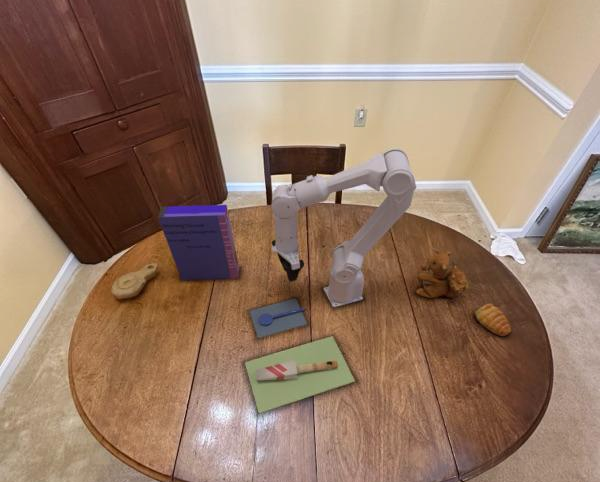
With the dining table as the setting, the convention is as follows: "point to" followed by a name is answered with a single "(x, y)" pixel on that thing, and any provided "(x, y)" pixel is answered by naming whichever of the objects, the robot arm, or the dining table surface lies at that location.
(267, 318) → the spoon
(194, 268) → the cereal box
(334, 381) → the brush mat
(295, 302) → the spoon pad
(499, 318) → the pastry
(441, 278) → the stuffed squirrel
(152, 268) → the oil lamp
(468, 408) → the dining table surface
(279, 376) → the paintbrush
